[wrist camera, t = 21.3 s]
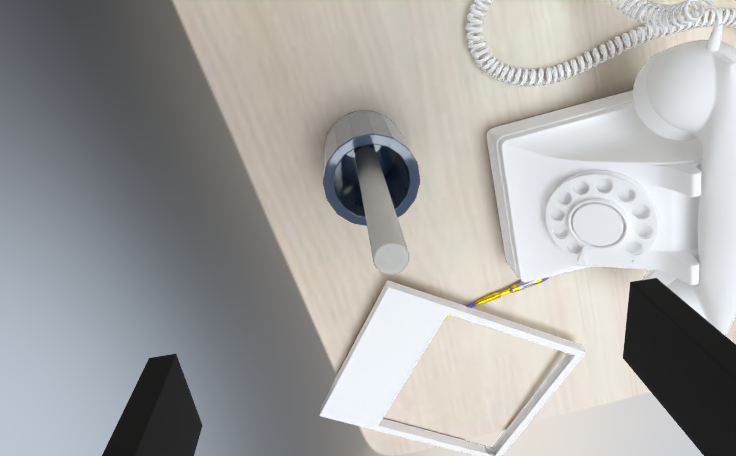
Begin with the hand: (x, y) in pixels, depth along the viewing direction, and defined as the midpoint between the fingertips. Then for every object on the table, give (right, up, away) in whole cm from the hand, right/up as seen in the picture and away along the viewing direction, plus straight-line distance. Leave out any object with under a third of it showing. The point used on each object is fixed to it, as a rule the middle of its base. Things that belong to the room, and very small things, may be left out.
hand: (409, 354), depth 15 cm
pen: (+9, -2, +26) cm, 28 cm away
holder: (-1, +9, +21) cm, 23 cm away
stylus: (-1, +9, +21) cm, 23 cm away
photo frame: (-3, -6, +27) cm, 28 cm away
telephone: (+17, +11, +22) cm, 30 cm away
